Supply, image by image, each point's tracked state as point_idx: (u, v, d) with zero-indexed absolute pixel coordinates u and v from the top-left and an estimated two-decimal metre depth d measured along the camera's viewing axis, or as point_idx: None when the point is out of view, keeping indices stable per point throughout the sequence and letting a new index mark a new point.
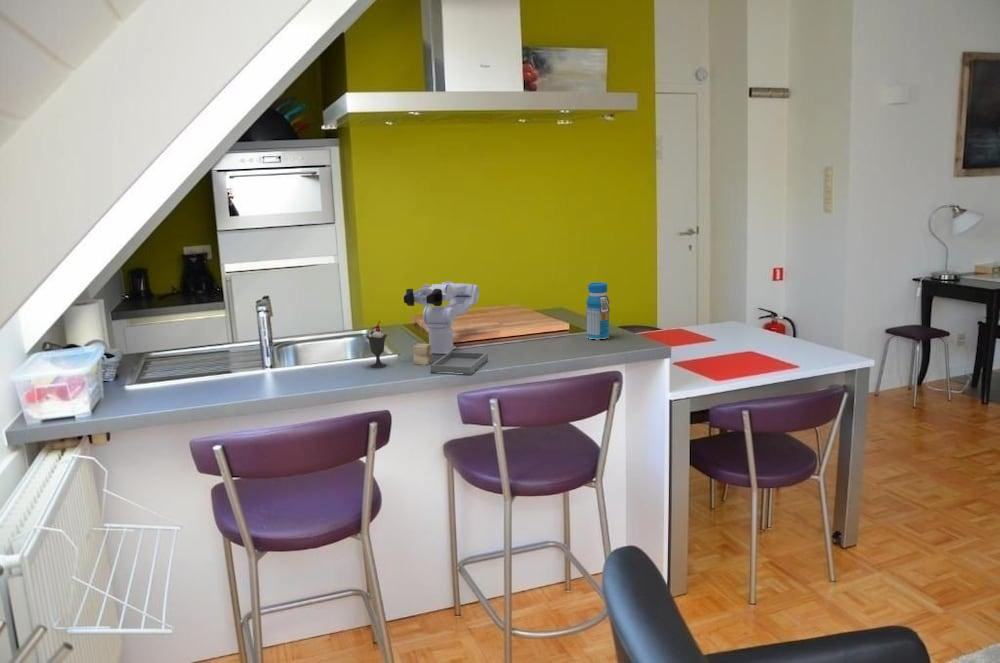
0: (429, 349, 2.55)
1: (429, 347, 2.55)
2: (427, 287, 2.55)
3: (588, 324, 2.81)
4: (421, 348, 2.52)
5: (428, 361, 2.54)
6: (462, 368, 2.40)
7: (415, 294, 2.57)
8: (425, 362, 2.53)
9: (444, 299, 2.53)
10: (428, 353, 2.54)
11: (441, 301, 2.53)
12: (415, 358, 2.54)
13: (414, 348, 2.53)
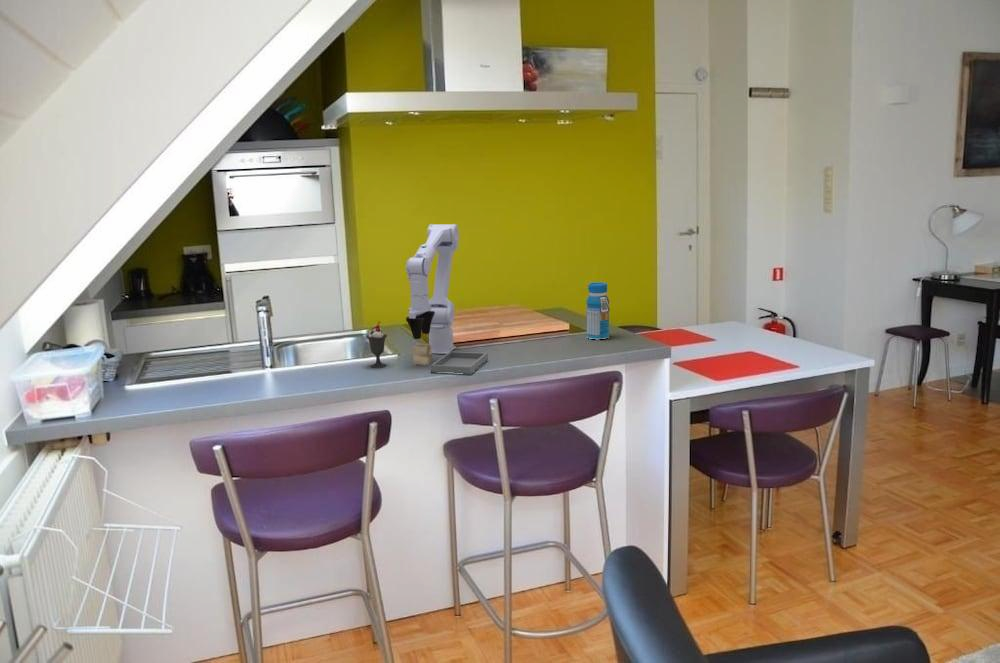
0: (429, 349, 2.55)
1: (429, 347, 2.54)
2: None
3: (588, 324, 2.81)
4: (421, 348, 2.52)
5: (428, 361, 2.54)
6: (462, 368, 2.40)
7: None
8: (425, 362, 2.53)
9: None
10: (428, 353, 2.54)
11: (417, 320, 2.46)
12: (415, 358, 2.54)
13: (414, 348, 2.53)
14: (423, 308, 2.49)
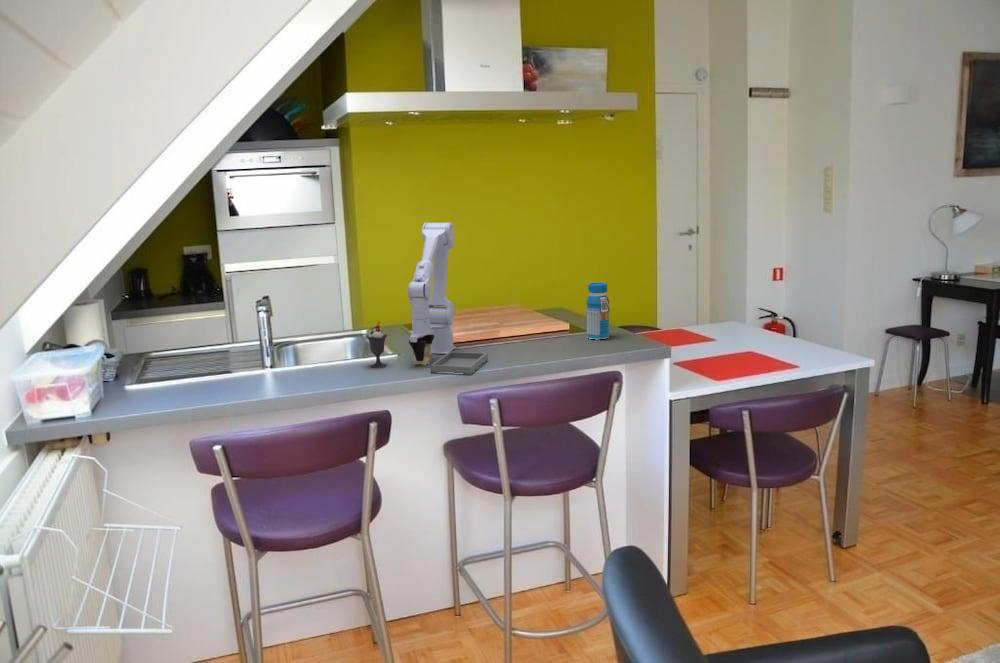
0: (429, 349, 2.55)
1: (429, 347, 2.54)
2: None
3: (588, 324, 2.81)
4: None
5: (428, 361, 2.54)
6: (462, 368, 2.40)
7: None
8: (425, 362, 2.53)
9: None
10: (428, 353, 2.54)
11: (419, 342, 2.49)
12: (415, 358, 2.54)
13: None
14: (424, 331, 2.51)
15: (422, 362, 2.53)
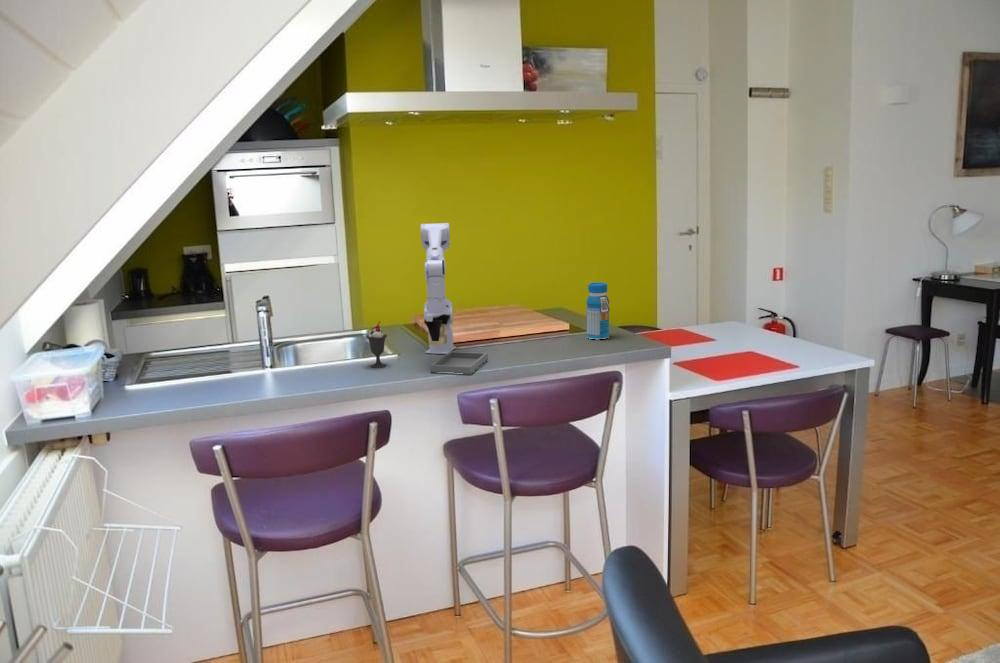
0: (444, 329, 2.51)
1: (444, 327, 2.50)
2: None
3: (588, 324, 2.81)
4: None
5: (443, 341, 2.50)
6: (462, 368, 2.40)
7: None
8: (440, 342, 2.49)
9: None
10: (443, 333, 2.50)
11: (435, 322, 2.45)
12: (430, 338, 2.49)
13: None
14: (440, 311, 2.47)
15: (437, 342, 2.49)
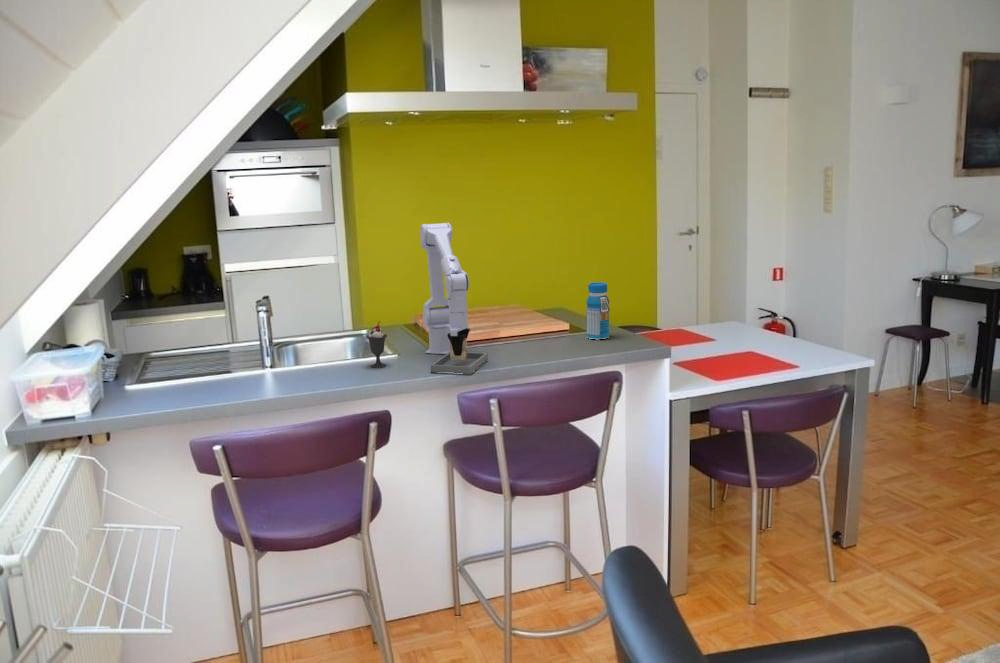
0: (465, 343, 2.49)
1: (465, 341, 2.49)
2: None
3: (588, 324, 2.81)
4: None
5: (465, 355, 2.48)
6: (462, 368, 2.40)
7: None
8: (462, 356, 2.47)
9: None
10: (465, 347, 2.48)
11: (459, 336, 2.43)
12: (451, 353, 2.47)
13: None
14: (463, 325, 2.45)
15: (459, 357, 2.47)
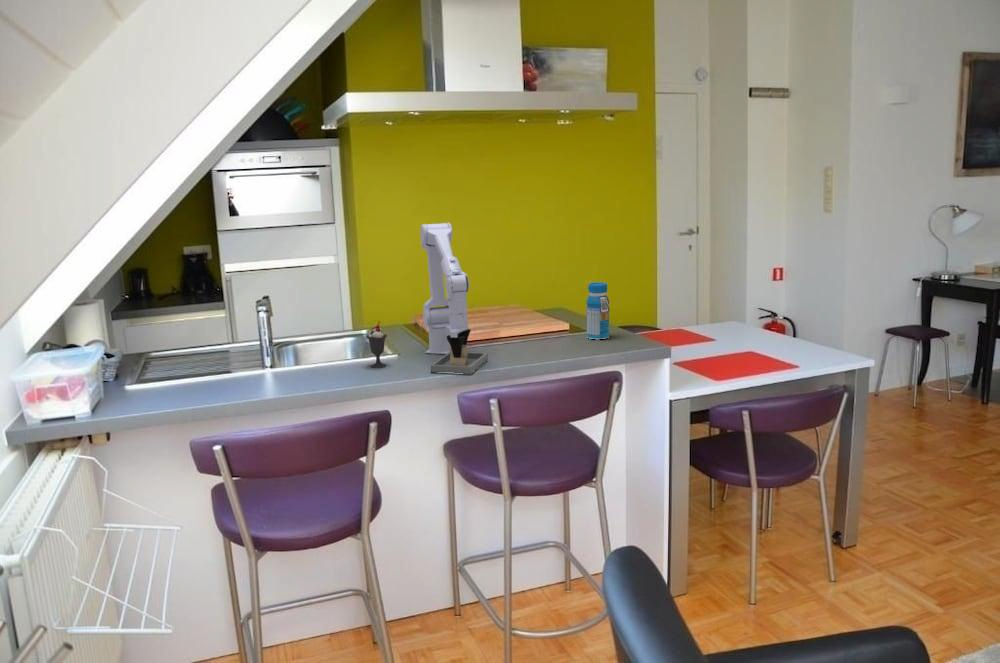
0: (466, 350, 2.49)
1: (465, 348, 2.49)
2: None
3: (588, 324, 2.81)
4: None
5: (465, 362, 2.49)
6: (462, 368, 2.40)
7: None
8: (463, 363, 2.47)
9: None
10: (465, 354, 2.48)
11: (458, 338, 2.42)
12: (452, 360, 2.48)
13: (451, 349, 2.47)
14: (463, 326, 2.45)
15: (459, 364, 2.47)
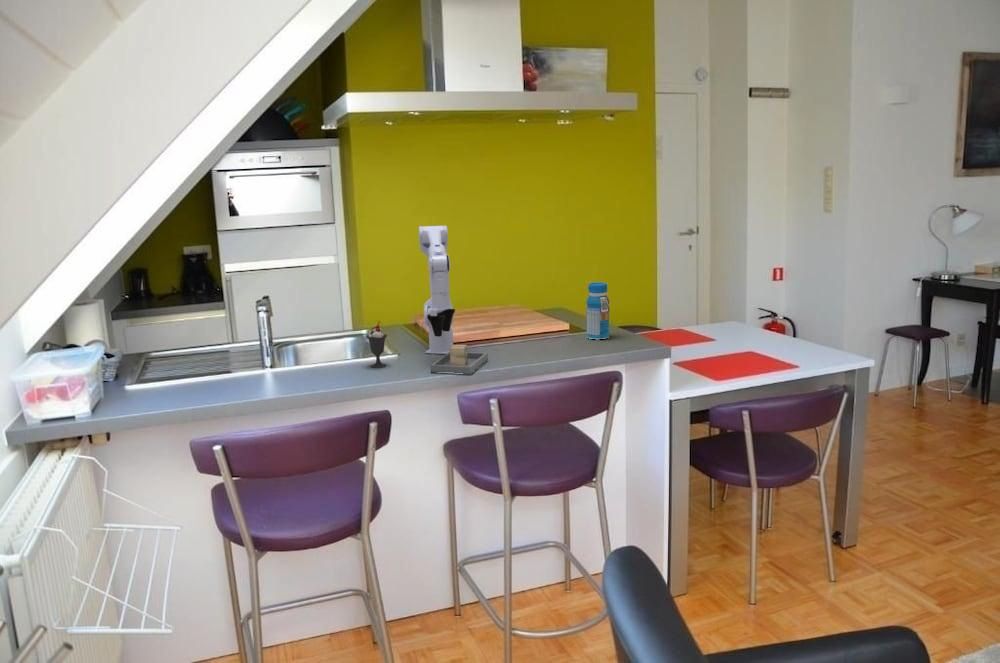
0: (466, 350, 2.49)
1: (465, 348, 2.49)
2: None
3: (588, 324, 2.81)
4: (459, 349, 2.46)
5: (465, 362, 2.49)
6: (462, 368, 2.40)
7: None
8: (463, 363, 2.47)
9: None
10: (465, 354, 2.48)
11: (438, 317, 2.47)
12: (452, 360, 2.48)
13: (451, 349, 2.47)
14: (444, 306, 2.50)
15: (459, 364, 2.47)
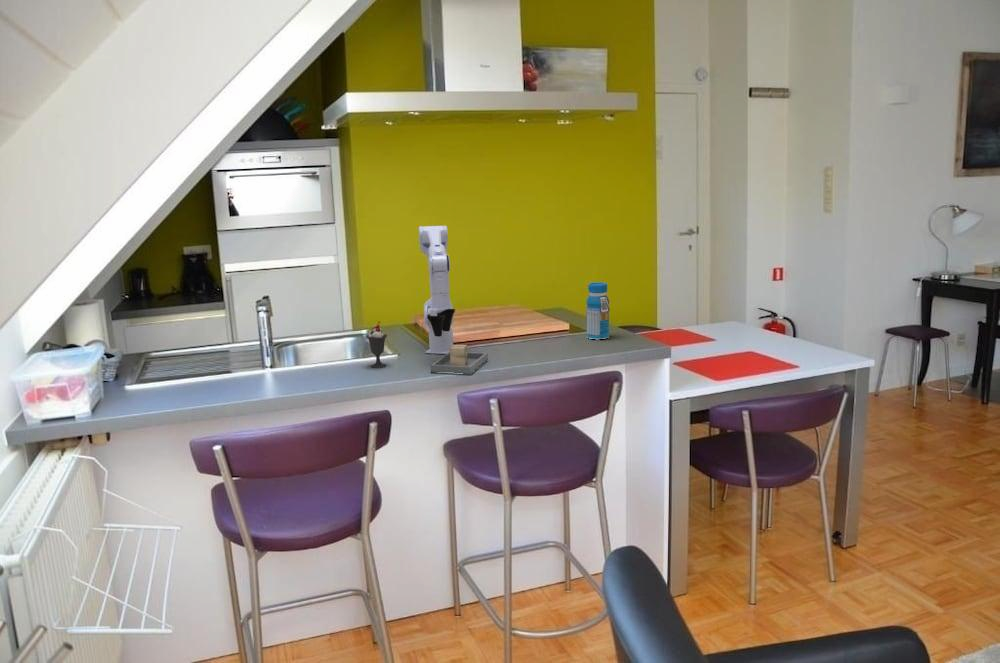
0: (466, 350, 2.49)
1: (465, 348, 2.49)
2: None
3: (588, 324, 2.81)
4: (459, 349, 2.46)
5: (465, 362, 2.49)
6: (462, 368, 2.40)
7: None
8: (463, 363, 2.47)
9: None
10: (465, 354, 2.48)
11: (438, 317, 2.47)
12: (452, 360, 2.48)
13: (451, 349, 2.47)
14: (444, 306, 2.50)
15: (459, 364, 2.47)
